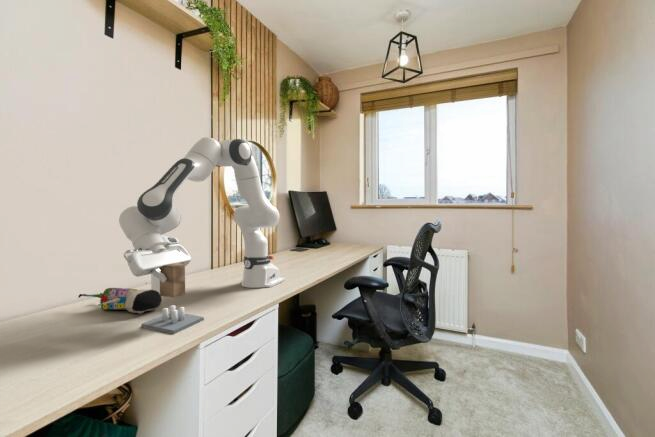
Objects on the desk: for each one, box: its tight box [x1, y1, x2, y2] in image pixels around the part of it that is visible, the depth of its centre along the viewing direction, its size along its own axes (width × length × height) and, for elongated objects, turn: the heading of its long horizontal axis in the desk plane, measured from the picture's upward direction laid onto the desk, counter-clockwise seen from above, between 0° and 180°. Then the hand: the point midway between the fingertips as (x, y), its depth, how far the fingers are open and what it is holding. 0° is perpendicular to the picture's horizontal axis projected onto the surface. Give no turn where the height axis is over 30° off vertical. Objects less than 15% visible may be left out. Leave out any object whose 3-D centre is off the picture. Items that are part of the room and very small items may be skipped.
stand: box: [140, 304, 205, 335], centre depth 99 cm, size 12×14×5 cm
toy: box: [77, 287, 163, 314], centre depth 112 cm, size 23×9×30 cm
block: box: [159, 263, 186, 299], centre depth 98 cm, size 4×6×10 cm
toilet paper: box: [150, 274, 160, 294], centre depth 136 cm, size 10×10×12 cm
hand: (174, 278), depth 98 cm, fingers closed on block, 4 cm apart
